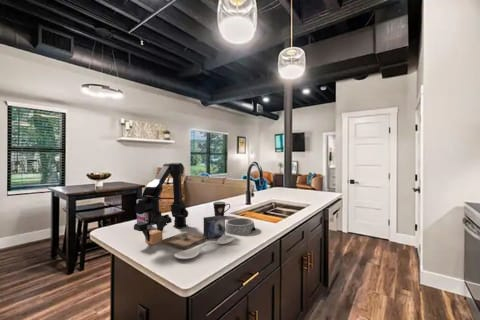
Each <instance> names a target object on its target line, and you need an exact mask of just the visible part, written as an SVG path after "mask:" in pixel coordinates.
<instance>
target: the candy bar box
mask: <svg viewBox="0 0 480 320" xmlns="http://www.w3.org/2000/svg"><path fill="white" fill-rule="evenodd" d="M138 200H141V198H140V199H136V204H137V203H138ZM147 219H148V214H146V213H143V214H138V213H136V223H140V222H143V223H148V222H146V220H147ZM152 227H153V225H152V226H149V228H152Z"/></svg>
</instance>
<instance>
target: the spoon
mask: <svg viewBox="0 0 480 320" xmlns="http://www.w3.org/2000/svg"><path fill="white" fill-rule="evenodd" d="M236 239H237V236H235V237H231V236H228V235H227V234H226V233H225V234H223V235H222V236H221V237H220V238H217V241H216V240H211V241H206V242H204V244H201V245H199V246H195V247H191V248H187V249H185V250H181V251H178V252H176V253H174V254H173V256H174V257H175V258H176V259H179V260H189V259H193V258H195V257H197V256H199V254H200V253H201V251H202V249H203V248H204V247H206V246H210V245H212V244H217V245H226V244H228V243H230V242H233V241H235V240H236Z"/></svg>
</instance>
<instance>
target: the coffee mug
mask: <svg viewBox="0 0 480 320" xmlns="http://www.w3.org/2000/svg"><path fill="white" fill-rule="evenodd" d="M212 204H213V211H214V216H220V215H221V216H223V217H224V218H225V213H226V212H227V211H228V210H229V209H230V208H231V204H230V203H226V201H213V203H212ZM228 205H229V207H228V208H227V209H225V208H226V206H228Z"/></svg>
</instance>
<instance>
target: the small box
mask: <svg viewBox="0 0 480 320" xmlns="http://www.w3.org/2000/svg"><path fill="white" fill-rule="evenodd" d="M225 227H226V218H225V216H224V217H223V216H221V215H220V216H215V215H214V216H206V217H205V216H204V217H203V235H202V236H204V237H207V240H206V241H208V240H212V239H213V240H214V239H219V238H220V237H221V236H222V235H223V234H225V235H226V232H225Z"/></svg>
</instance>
